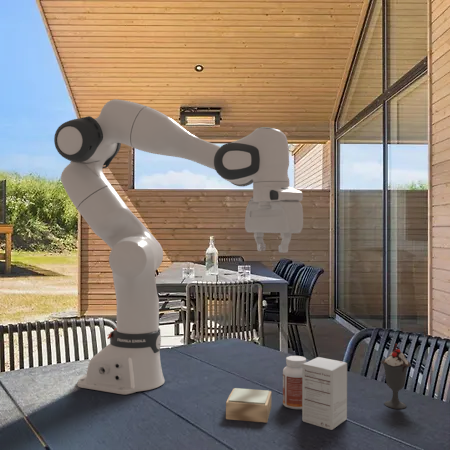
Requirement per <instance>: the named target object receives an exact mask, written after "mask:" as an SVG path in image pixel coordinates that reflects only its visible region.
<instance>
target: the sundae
mask: <svg viewBox="0 0 450 450" xmlns="http://www.w3.org/2000/svg"><path fill="white" fill-rule="evenodd" d="M397 346H398V343H395V344H394V347H393V350H392V351H391V352H390V353H389V355H388V356H387V357H386V358H383V359H382V360H380V363H381V364H383V368H384V376H385V382H386V385H387V387H388V388H389V389H390V390H391V391H392V398H391V399H390V400H386V401H384V403H383V404H384V406H386V407H387V408H390V409H393V410H394V409H395V410H403V409H406V408H407V405H406V403H404V402H402V401H400V399H399V391H401V390H402V389H403V388H404V387H405V384H406V380H407V379H406V378H407V373H408V368H411V366H412V364H411V362H410V361H409V360H408V359H407V358H406V355H405V354H404V353H403V352H401V349H399V348H398V347H397Z"/></svg>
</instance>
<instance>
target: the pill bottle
mask: <svg viewBox="0 0 450 450" xmlns="http://www.w3.org/2000/svg"><path fill="white" fill-rule="evenodd" d="M306 362H307V358H306V357H305V356H303V355H302V356H300V355H290V356H286V357H285V364H286V366H285V367H284V368H283V369H282V404H283V406H284V407H285V408H287V409H291V410H302V370H303V365H302V364H304V363H306Z"/></svg>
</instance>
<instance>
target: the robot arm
mask: <svg viewBox="0 0 450 450" xmlns="http://www.w3.org/2000/svg"><path fill="white" fill-rule="evenodd" d="M53 139H54V146H55V149H56V150H57V153H58V154H59V155H60V156H61V157H62V158H64V159H65V160H68V161H70V162H69V164H67V165H66V166H65V167H64V168H63V170H62V172H61V174H60V181H61V183H62V186H63V188H64V190H65V192H66V194H67V196H68V198H69V199H70V201H71V202H72V204H73V205H74V207H75V208H76V209H77V211H78V213H79V214H80V215H81V216H82V218H83V220H84V221H85V222H86V223H87V225H88V226H89V227H90V229H91V230H92V231H93V233H94V234H95V235H96V236H97V237H99V238H100V239H101V240H102V241H103V242H104V243H106V245H107V246H108V247H109V248H110V249H111V250H110V253H109V256H108V264H109V267H110V269H111V272H112V273H111V275H112V279H113V287H114V291H115V298H116V327H115V328H114V329H113V330H112V331H110V333H108V334H107V339H108V340H109V344H107V345H106V346H105V347H104V348H102V349H101V350H100V351H98V352H97V353H96V354H95V355H93V357H91V358H90V360H89V362H88V363H87V364H88V365H87V370H86V373H85V374H83V375H82V376H81V377H80V378H79V379H78V381H77V387H78V388H82V389H89V390H95V391H99V392H106V393H112V394H118V395H130V394H134V393H136V392H143V391H150V390H153V389H156V388H159V387H160V386H162V385H164V384H165V382H166V380H165V377H164V374H163V370H162V369H163V368H162V364H161V363H162V362H161V355H160V350H161V346H162V344H161V343H162V337H161V329H160V300H159V299H160V298H159V295H158V290H157V283H156V271H157V270H158V269H159V268H160V266H161V265H162V262H163V259H164V250H163V248H162V245H161V243H160V242H159V241H158V239H156V238H155V236H154V235H153V234H152V233H151V232H150V230H149V229H148V228H147V227H146V226H145V224H144V223H142V221H141V220H140V219H139V218H138V217H137V216H136V215H135V214H134V213H133V212H132V210H131V209H130V208H129V207H128V206H127V204H126V202H125V201H124V200H123V198H122V197H121V196H120V195H119V193H118V192H117V190H116V189H115V188H114V187H113V185H112V184H111V182H110V181H109V179H107V177H106V175H105V173H104V171H103V169H106V168H108V167H109V166H110V164H111V163H112V161H113V160H114V158H115V157H116V156H117V155H118V154H119V152H120V149H121V145H126V146H128V147H131V148H133V149H136V150H139V151H141V152H146V153H149V154H155V155H161V156H166V157H167V156H168V157H173V158H174V157H175V158H181V159H184V160H188V161H192V162H194V163H196V164H200V165H201V166H205V167H207V168H209V169H212V170H214V171H215V172H216V174H217V175H219V176H220V177H221V178H222V179H224V180H225V181H228V183H230V184H233V186H236V187H247V186H249V185H252V196H251V197H250V199H249V201H248V203H247V206H246V208H245V214H244V215H245V216H244V217H245V218H244V229H245V232H246V233H253V238H254V240H255V243H256V249H257V251H258V252H265V251H266V250H267V244H266V243H265V241H264V237H265V234H267V233H268V234H271V233H272V234H280V238H281V241H280V244H279V245H278V253H282V254H283V253H284V254H285V253H287V254H288V252H289V245H290V243H291V239H292V234H301V232H302V231H303V229H304V228H303V227H304V209H303V204H302V203H301V202H302V201H303V199H304V194H303V192H302V191H301V190H298V189H296V188H294V187H291V186H290V178H289V174H288V170H289V167H290V154H289V153H290V150H289V143H288V138H287V136H286V134H285V133H284V132H283V131H282V130H280V129H276V128H272V127H262V126H261V127H257V128H255V129H254V130H253V131H252V132H251V133H249V134H248V135H245V136H244V137H242V138H240V139H237V140H234V141H231V142H226V143H224V144H222V145H221V146H220V145H217V144H215V143H212V142H209V141H207V140H204V139H202V138H199V137H198V136H195V135H194V134H192V133H191V132H189V131H188V130H187V129H185V128H184V127H183V126H181V125H180V124H179V123H178V122H177V121H176V120H174V119H172V118H171V117H169V116H168V115H166V114H164V113H163V112H161V111H159V110H157V109H155V108H152V107H150V106H147V105H144V104H140V103H138V102H134V101H130V100H124V99H119V98H118V99H116V98H114V99H110V100H109V101H107V102H106V103H105V104H104V105H103V106H102V108H101V110H100V112H99V115H98V116H97V117H95V118H93V117H92V116H89V115H87V116H84V117H80V118H79V117H78V118H74V119H71V120H67V121H66V122H63V123H61V124H60V125H59V126H58V127H57V129H56V131H55V133H54V138H53ZM264 233H265V234H264Z"/></svg>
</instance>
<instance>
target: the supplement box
mask: <svg viewBox="0 0 450 450" xmlns="http://www.w3.org/2000/svg"><path fill="white" fill-rule="evenodd" d="M302 365H303V370H302V409H301V411H302V412H301V413H302V416H301V417H302V418H301V419H302V421H303V422H304V423H307V424H310V425H313V426H317V427H321V428H324V429H327V430H331V431H332V430H335V428H336V427H338V426H340V425H341V424H342V423H344V422H345V421H346V420H348V363H347V362H345V361H341V360H336V359H330V358H325V357H320V356H317V357H315V358H313V359H311V360H309V361H306V363H304V364H302Z"/></svg>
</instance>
